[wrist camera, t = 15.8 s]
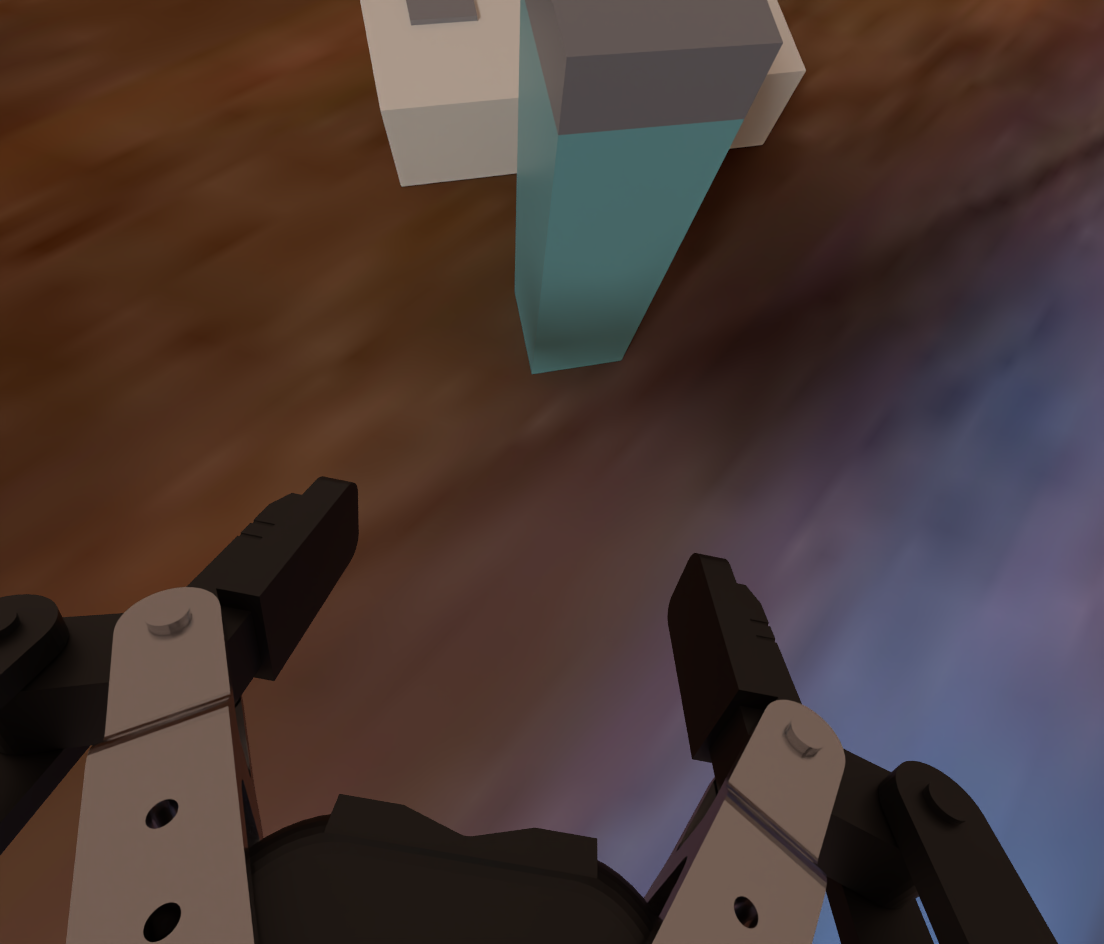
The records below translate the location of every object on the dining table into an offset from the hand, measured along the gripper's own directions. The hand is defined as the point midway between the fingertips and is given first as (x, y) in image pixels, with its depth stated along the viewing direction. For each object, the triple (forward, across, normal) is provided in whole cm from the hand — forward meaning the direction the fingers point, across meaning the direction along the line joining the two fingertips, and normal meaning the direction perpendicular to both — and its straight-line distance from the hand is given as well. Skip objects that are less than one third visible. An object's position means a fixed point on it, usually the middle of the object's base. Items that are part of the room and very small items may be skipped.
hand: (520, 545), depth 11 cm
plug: (+15, 0, -2) cm, 15 cm away
